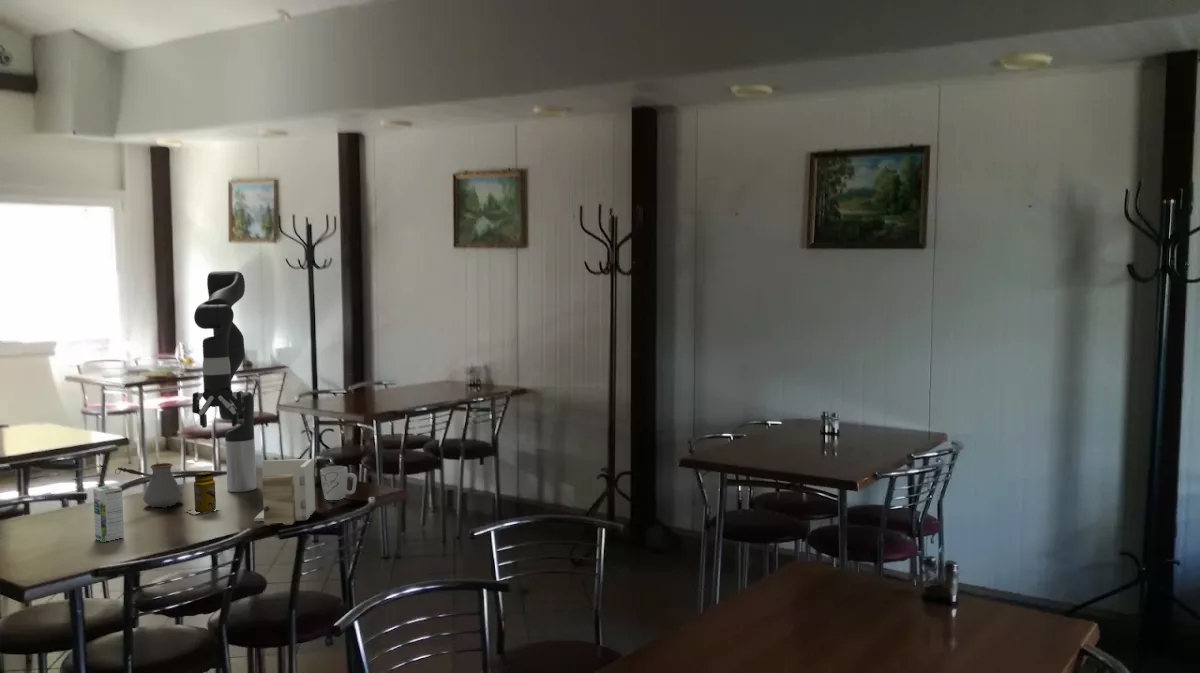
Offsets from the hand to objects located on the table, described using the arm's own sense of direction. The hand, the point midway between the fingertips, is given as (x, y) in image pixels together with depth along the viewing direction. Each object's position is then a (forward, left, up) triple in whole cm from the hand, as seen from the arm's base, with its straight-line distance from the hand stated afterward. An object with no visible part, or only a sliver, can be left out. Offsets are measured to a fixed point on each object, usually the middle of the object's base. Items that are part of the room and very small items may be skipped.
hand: (219, 426), depth 277 cm
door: (+6, +18, -28) cm, 34 cm away
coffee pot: (-18, -28, -28) cm, 44 cm away
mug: (-21, +30, -28) cm, 46 cm away
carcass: (-1, +18, -28) cm, 33 cm away
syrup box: (+16, -26, -28) cm, 42 cm away
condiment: (-12, -10, -28) cm, 32 cm away
